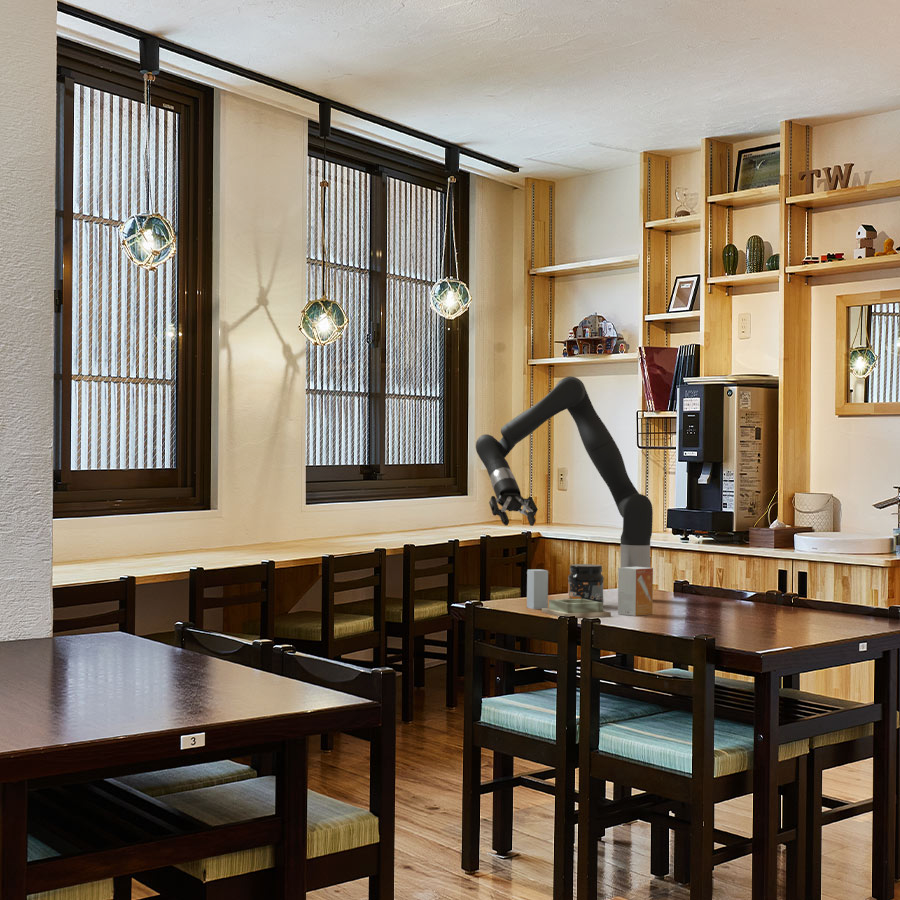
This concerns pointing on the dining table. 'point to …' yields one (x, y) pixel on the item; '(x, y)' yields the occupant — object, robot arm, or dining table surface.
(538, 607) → the block
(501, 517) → the robot arm
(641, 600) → the small box
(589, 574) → the supplement container
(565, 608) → the cradle jig
